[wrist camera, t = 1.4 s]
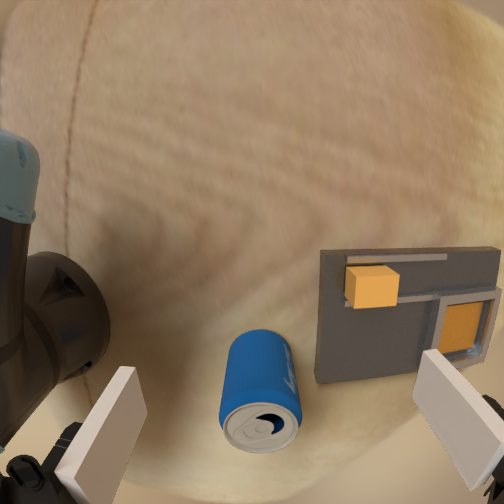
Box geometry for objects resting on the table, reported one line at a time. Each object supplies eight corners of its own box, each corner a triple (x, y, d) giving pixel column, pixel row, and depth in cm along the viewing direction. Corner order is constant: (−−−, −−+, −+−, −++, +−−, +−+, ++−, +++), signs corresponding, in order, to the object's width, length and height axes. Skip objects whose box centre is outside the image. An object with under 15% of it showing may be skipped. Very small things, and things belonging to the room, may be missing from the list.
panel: (314, 373, 33) (319, 391, 30) (320, 250, 30) (328, 258, 27) (471, 350, 33) (484, 363, 29) (491, 246, 30) (508, 252, 26)
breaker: (344, 295, 29) (354, 308, 25) (346, 266, 28) (356, 276, 25) (383, 293, 28) (396, 305, 25) (385, 265, 28) (399, 274, 25)
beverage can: (301, 358, 33) (319, 435, 21) (251, 386, 33) (249, 465, 22) (268, 314, 32) (274, 385, 20) (217, 345, 32) (199, 420, 21)
